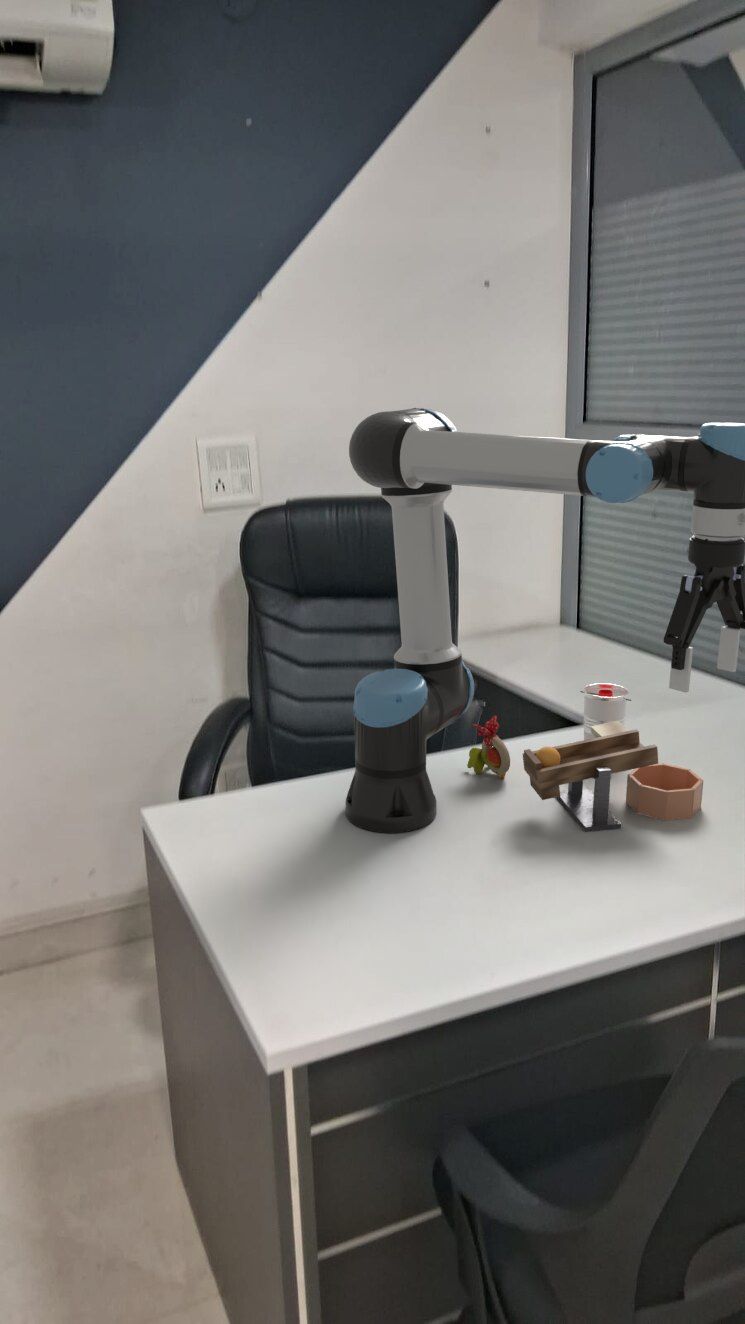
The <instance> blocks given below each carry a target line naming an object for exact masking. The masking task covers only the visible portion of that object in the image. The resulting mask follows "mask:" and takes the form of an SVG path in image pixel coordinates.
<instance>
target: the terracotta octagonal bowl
mask: <svg viewBox="0 0 745 1324" xmlns="http://www.w3.org/2000/svg"><path fill="white" fill-rule="evenodd" d="M703 788H704V779H702V778H701V777H700V776H699V775H697V774H696V773H695V772H694V771H692V770H691V768H687V767H681V766H676V765H672V764H667V763H658V764H655V765H650V766H645V767H641V768H636V769H632V770H630V772H629V773H628V774H627V780H626V791H625V792H626V793H625V795H626V796H625V802H626V803H627V804H628V805H629V806H630V807H631V808H632V809H633V811H635V812H636V814H637V815H638V814H639V815H641V816H647V817H649V818H650V817H651V818H654V819H658V820H661V821H670V820H672V821H673V820H683V819H684V820H685V819H693V817H694V816H695V815H696V814H697V813H698V811H699V810H701V808H702V803H703V802H702V800H703Z"/></svg>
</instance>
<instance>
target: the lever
mask: <svg viewBox="0 0 745 1324" xmlns="http://www.w3.org/2000/svg"><path fill="white" fill-rule="evenodd" d="M591 733H592V734H593V735H594V736H595V737H597V738H593V739H588V740H584V739H583V740H580V741H573V742H574V743H571V742H569V743H566V744H561V745H555V746H552V747H553V748H554V749H556V750H557V751H558V753H559V754H560V764H559V765H557V766H552V767H547V768H543V769H542V763H541V762H540V760H539V759H538V758H537V757H536V754H537V752H538V751H539V750H540V749H536V750H532V749H530V748H528V749H524V750H523V753H522V760H523V770H524V771H525V773H526V774H527V775H528V776H529V781H530V782H529V783H530V784H529V785H530V786H531V788H532V789H533V790H534V792H535V793H536V794H537V795H538V797H539V798H540V799H541V800H542V801H545V800H550V799H554V798H557V797H559V796H560V791H561V790H560V786H562V785H568V783H572V782H576V781H581V780H583V781H585V780H586V781H587V780H589V779H593V780H595V767H605V766H608V767H609V768H610V769H611V775H613V774H617V773H621V772H626V771H632V770H634V769H636V768H641V767H645V766H650V765H655V764H659V752H658V750H659V749H658V746H657V745H656V744H650V745H646V746H645V745H643V744H642V742H640V731H639V730H638V729H637V728H635V729H631V730H630V729H628V728H627V727H626V726H625V725H624V726H623V725H622V724H621V723H620V722H619V721H614V722H609V723H604V724H599V725H595V726H591Z"/></svg>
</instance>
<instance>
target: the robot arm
mask: <svg viewBox="0 0 745 1324" xmlns="http://www.w3.org/2000/svg"><path fill="white" fill-rule="evenodd" d="M348 444H349V445H348V446H349V447H348V455H349V459H350V460H349V461H350V464H351V467H352V469H353V471H354V472H355V473H356V474H357V476H358V477H359V478H360V480H361V479H362V481H363V482H365V483H367V484H369V485H370V486H372V487H375V488H379V489H380V490H381V491H380V494H381V497H382V499H384V500H385V501H386V502H387V503H389V505H390V507H391V516H392V529H393V543H394V553H395V554H394V556H395V557H394V558H395V570H396V584H397V599H398V610H399V611H398V612H399V623H400V625H399V626H400V638H401V647H399V648H398V649H397V651H396V652H395V653H394V655H393V664H394V665H393V666H394V668H389V669H388V668H387V669H385V670H383V671H380V670H378V671H375V672H372V673H370V674H367V675H365V676H364V677H363V678H362V679H360V681H359V682H358V683H357V685H356V687H355V688H354V689H355V690H354V700H353V706H352V707H353V708H352V711H353V719H354V720H353V721H354V725H353V726H354V760H355V762H354V764H355V769H354V773H353V777H352V778H351V779H352V780H351V782H350V785H349V789H348V791H347V795H346V798H345V816H346V818H347V820H348V821H349V822H350V823H351V824H352V825H354V826H356V827H358V828H361V829H364V830H367V831H371V832H376V833H377V832H378V833H387V834H389V833H394V834H395V833H405V832H411V831H415V830H419V829H420V828H423V827H425V826H427V825H429V824H431V823H432V822H433V821H434V820H435V819H436V816H437V798H436V795H435V794H434V790H433V787H432V784H431V780H430V777H429V774H428V771H427V740H428V739H429V738H431V737H432V736H434V735H435V734H437V733H439V732H440V731H441V730H443V729H445V728H446V727H449V726H451V725H453V724H455V722H457V721H458V719H460V718H461V717H462V716H463V715H464V714H465V713H466V712H467V710H468V709H469V707H470V706H471V704H472V702H473V699H474V696H475V683H474V682H475V681H474V678H473V674H472V672H471V670H470V668H468V667H467V666H466V665H465V662H464V661H463V655H462V651H461V649H460V648H459V647H458V646H456V645H455V643H453V638H452V637H453V636H452V621H451V620H452V619H451V606H450V605H451V604H450V588H449V574H448V571H449V570H448V559H447V558H448V557H447V540H446V527H445V526H446V524H445V510H444V503H445V500H446V499H447V497H449V496H450V494H451V493H452V492H453V488H452V487H453V486H462V487H476V488H487V489H497V490H511V491H522V492H535V493H546V494H547V493H548V494H558V495H570V496H571V495H572V496H580V497H582V496H583V497H587V498H597V499H598V500H600V501H602V502H604V503H609V504H624V503H629V502H632V501H634V500H636V499H638V498H639V497H640V496H643V495H646V494H648V493H652V492H654V491H677V492H678V491H679V492H692V493H693V499H692V500H693V501H692V502H693V503H692V510H691V520H690V530H689V531H690V532H691V533H692V534H693V535H692V536H691V537H690V538H689V543H688V552H687V553H688V554H687V560H688V562H689V563H690V564H693V565H694V566H695V573H694V575H693V576H692V575H688V574H683V575H682V576H681V580H680V586H679V592H678V595H677V597H676V601H675V604H674V607H673V610H672V612H671V616H670V619H669V621H668V625H667V627H666V631H665V634H664V636H663V643H664V644H665V645H669V646H672V649H671V661H670V662H671V663H670V672H669V673H670V674H669V682H668V683H669V684H668V689H671V690H675V691H679V692H682V693H685V694H686V693H689V692H690V684H691V683H690V681H691V674H692V673H691V672H692V662H693V661H692V660H693V653H694V652H693V651H694V647H693V646H691V643H692V641H693V640H694V637H695V635H696V633H697V631H698V629H699V627H700V624H701V623H702V621H703V618H704V616H705V614H706V612H707V610H708V609H711V608H712V607H713V605H714V603H716V605H717V606H718V610H719V613H720V615H721V618H722V619H723V622H724V626H721V628H720V633H719V635H720V636H719V637H720V638H719V644H718V645H719V646H718V654H717V664H716V669H718V670H722V671H726V672H730V673H736V672H737V665H738V657H739V656H738V655H739V647H740V640H741V639H740V638H741V631H742V630H741V629H743V630H745V564H744V563H745V538H743V537H744V536H745V423H744V422H743V423H741V422H706V423H703V424H702V425H701V427H700V429H699V433H697V436H688V437H687V436H672V435H671V436H669V435H655V434H654V435H651V434H649V435H648V434H645V433H636V434H621V435H619V436H616V437H615V439H614V440H595V439H594V440H592V439H576V438H564V437H561V438H560V437H548V436H547V437H546V436H545V437H544V436H530V435H529V436H527V435H526V436H525V435H512V434H511V435H509V434H498V433H497V434H496V433H495V434H494V433H481V432H480V433H479V432H477V433H476V432H462V431H461V432H460V431H458V430H457V428H456V426H455V425H454V424H453V422H452V421H451V420H450V419H449V418H448V417H447V416H445V414H443V413H442V412H439V411H437V410H434V409H430V408H429V409H428V408H423V407H421V408H420V407H419V408H417V407H414V408H407V409H400V410H392V411H387V410H386V411H379V412H377V413H372V414H371V415H369V416H367V417H366V418H365V419H363V420H361V422H359V424H358V425H357V426H355V428H354V431H353V432H352V434H351V437H350V439H349V443H348Z"/></svg>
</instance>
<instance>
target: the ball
mask: <svg viewBox="0 0 745 1324" xmlns="http://www.w3.org/2000/svg"><path fill="white" fill-rule="evenodd" d="M553 747H554V746H543V747H541V748H539V749H538V750H539V751H538V752H537V754H536V757H537V758H538V759H539V760H540V762H541V763H542V769H543V768H547V767H552V766H557V765H559V764H560V754H559V753H558V751H557V750H556V749H554V748H553Z"/></svg>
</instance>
